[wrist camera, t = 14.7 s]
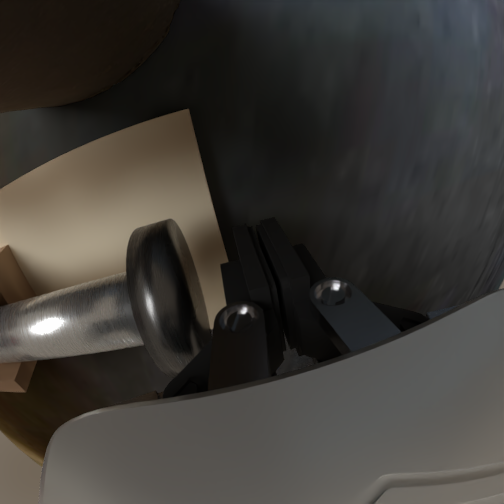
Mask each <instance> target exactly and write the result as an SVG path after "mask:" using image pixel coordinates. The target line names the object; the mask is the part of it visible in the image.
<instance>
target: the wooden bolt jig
mask: <svg viewBox="0 0 504 504" xmlns="http://www.w3.org/2000/svg"><path fill="white" fill-rule="evenodd" d="M166 219H173V220H174V221H175V222H176V223H177V224H178V226H179V227H180V229H181V231H182V233H183V235H184V237H185V240H186V242H187V244H188V247H189V250H190V252H191V255H192V258H193V261H194V264H195V267H196V271H197V274H198V277H199V281H200V285H201V288H202V292H203V296H204V300H205V305H206V309H207V314H208V318H209V324H210V329H213V326H214V320H215V316H216V315H217V313H218V312H219V311H220V310H221V309H222V308H224V307H225V306H226V300H225V294H224V287H223V281H222V274H221V268H220V264H222V263H226V262H228V258H227V254H226V251H225V247H224V244H223V240H222V236H221V233H220V229H219V225H218V221H217V218H216V214H215V210H214V206H213V203H212V199H211V195H210V191H209V187H208V184H207V180H206V176H205V172H204V168H203V164H202V160H201V156H200V152H199V148H198V144H197V140H196V136H195V132H194V128H193V124H192V120H191V115H190V111H189V109H185V110H182V111H178V112H174V113H171V114H168V115H164V116H161V117H158V118H155V119H151V120H148V121H145V122H142V123H139V124H136V125H134V126H131V127H128V128H125V129H122V130H120V131H117V132H114V133H112V134H109V135H107V136H104V137H102V138H99V139H97V140H95V141H92V142H90V143H87V144H85V145H83V146H81V147H78V148H76V149H74V150H72V151H70V152H68V153H65V154H63V155H61V156H59V157H57V158H55V159H53V160H51V161H49V162H47V163H45V164H43V165H42V166H40V167H38V168H36V169H34V170H32V171H30V172H29V173H27V174H25V175H23V176H22V177H20V178H18V179H17V180H15V181H13V182H12V183H10V184H8V185H7V186H5V187H3V188H2V189H0V307H1V306H5V305H8V304H12V303H15V302H19V301H22V300H26V299H29V298H33V297H36V296H40V295H43V294H47V293H50V292H54V291H57V290H61V289H64V288H68V287H72V286H75V285H79V284H82V283H86V282H90V281H93V280H97V279H101V278H104V277H108V276H112V275H115V274H119V273H123V272H126V254H127V247H128V242H129V239H130V236H131V234H132V232H133V231H134V230H135V229H136V228H139V227H142V226H145V225H149V224H152V223H156V222H159V221H163V220H166ZM36 363H37V360H35V361H24V362H11V363H0V391H6V392H26V391H27V388H28V385H29V382H30V379H31V376H32V374H33V371H34V368H35V365H36Z"/></svg>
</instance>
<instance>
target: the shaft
mask: <svg viewBox="0 0 504 504" xmlns="http://www.w3.org/2000/svg"><path fill="white" fill-rule="evenodd" d="M211 340H212V336H211V329H210V324H209V318H208V314H207V309H206V305H205V300H204V296H203V292H202V288H201V285H200V281H199V277H198V274H197V271H196V267H195V264H194V261H193V258H192V255H191V252H190V250H189V247H188V244H187V242H186V240H185V237H184V235H183V233H182V231H181V229H180V227H179V226H178V224H177V223H176V222H175V221H174V220H173V219H166V220H163V221H159V222H156V223H152V224H149V225H145V226H142V227H139V228H136V229H135V230H134V231H133V232H132V234H131V236H130V239H129V242H128V247H127V254H126V272H123V273H119V274H115V275H112V276H108V277H104V278H101V279H97V280H93V281H90V282H86V283H82V284H79V285H75V286H72V287H68V288H64V289H61V290H57V291H54V292H50V293H47V294H43V295H40V296H36V297H33V298H29V299H26V300H22V301H19V302H15V303H12V304H8V305H5V306H1V307H0V363H11V362H24V361H35V360H45V359H54V358H62V357H70V356H78V355H85V354H92V353H99V352H106V351H112V350H118V349H124V348H130V347H136V346H141V345H145V347H146V349H147V351H148V353H149V355H150V356H151V358H152V359H153V361H154V363H155V364H156V365H157V366H158V368H159V369H160V370H161V371H162V372H163V373H164V374H165V375H167V376H168V377H170V378H175V377H176V376H177V375H178V374H179V373H180V372H181V371H182V370H183V369H184V368H185V367H186V365H187V364H188V363H189V362H190V361H191V360H192V359H193V358H194V357H195V356H196V355H197V354H198V353H199V352H200V351H201V350H202V349H203V348H204V347H205V346H206V345H207V344H208V343H209V342H210V341H211Z"/></svg>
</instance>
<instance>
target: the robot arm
mask: <svg viewBox="0 0 504 504" xmlns="http://www.w3.org/2000/svg"><path fill="white" fill-rule="evenodd" d="M260 223H261V224H259V225H256V229H257V235H258V240H259V242H258V240H257V237H256V235H255V232H254V230H253V228H252V226H251V227H247V226H246V224H243V225H239V226H235V227H232V230H233V234H234V238H235V243H236V247H237V251H238V255H239V260H235V261H230V262H226V263H222V264H220V268H221V274H222V281H223V287H224V294H225V300H226V306H225V307H224V308H222V309H221V310H220V311H219V312H218V313H217V315H216V316H215V320H214V326H213V337H212V340H211V341H210V342H209V343H208V344H207V345H206V346H205V347H204V348H203V349H202V350H201V351H200V352H199V353H198V354H197V355H196V356H195V357H194V358H193V359H192V360H191V361H190V362H189V363H188V364H187V365H186V367H185V368H184V369H183V370H182V371H181V372H180V373H179V374H178V375H177V376H176V377H175V378H174V379H173V380H172V381H171V382H170V383H169V384H168V385H167V387H166V388H165V390H164V392H161V393H157V391H153V392H150V393H147V394H144V395H141V396H138V397H135V398H132V399H129V400H126V401H123V402H119V403H116V404H113V405H109V406H106V407H104V408H101V409H98V410H94V411H91V412H88V413H85V414H82V415H80V416H78V417H76V418H73V419H71V420H69V421H68V422H66V423H64V424H63V425H62V426H60V427H59V428H58V429H57V430H56V431H55V432H54V434H53V436H52V438H51V440H50V442H49V444H48V447H47V450H46V454H45V458H44V463H43V468H42V474H41V481H40V491H39V504H504V289H499V290H495V291H491V292H489V293H486V294H483V295H481V296H478V297H476V298H474V299H472V300H470V301H468V302H466V303H463V304H461V305H459V306H455V307H451V308H446V309H442V310H437V311H433V312H428V313H427V314H426V316H423V315H422V314H419V313H416V312H413V311H408V310H404V309H400V308H396V307H392V306H388V305H384V304H379V303H375V302H371V301H370V300H369V299H368V298H367V297H366V296H365V295H364V294H363V293H362V292H361V291H360V290H359V289H358V288H357V287H356V286H355V285H354V284H352V283H351V282H350V281H348V280H345V279H343V278H336V277H332V278H326V277H325V276H324V274H323V273H322V271H321V270H320V268H319V267H318V265H317V264H316V262H315V261H314V259H313V258H312V256H311V255H310V253H309V252H308V250H307V249H306V247H305V246H304V245H303V244H299V245H295V246H292V245H291V243H290V242H289V240H288V238H287V237H286V235H285V233H284V232H283V230H282V229H281V227H280V225H279V224H278V222H277V220H276V219H275V217H273V218H269V219H264V220H261V221H260ZM283 330H284V332H283ZM284 333H285V336H286V338H287V341H288V344H289V347H290V349H294V348H296V350H297V352H298V355H299V356H301V355H306V356H309V357H312V359H313V363H314V365H311V366H308V367H305V368H301V369H298V370H294V371H291V372H287V373H284V374H280V375H277V373H276V370H277V369H278V367H279V366H280V365H281V363H282V362H283V360H284V356H283V351H286V345H285V339H284Z"/></svg>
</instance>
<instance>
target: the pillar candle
mask: <svg viewBox="0 0 504 504" xmlns="http://www.w3.org/2000/svg"><path fill="white" fill-rule="evenodd" d="M179 3H180V0H0V113H4V112H9V111H16V110H26V109H34V108H40V107H56V106H63V105H66V104H69V103H75V102H80V101H83V100H85V99H87V98H92V97H93V96H96V95H98V94H100V93H102V92H104V91H106V90H108V89H110V88H111V87H112V86H113V84H117V83H118V82H121V81H122V80H124V79H125V78H126V77H128V76H129V75H130V74H131V73H132V72H134V71H135V70H136V69H137V68H139V67H140V65H141V64H142V63H143V62H144V61H145V60H147V58H148V57H149V56H150V55H151V54H152V53H153V52H154V51H155V50H156V49H157V47H158V46H159V45H160V43H161V42H162V41H163V39H164V38H165V37H166V36H167V34H168V32H169V29H170V23H171V21H172V19H173V14H174V12H175V10H176V9H177V8H178V6H179Z"/></svg>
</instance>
